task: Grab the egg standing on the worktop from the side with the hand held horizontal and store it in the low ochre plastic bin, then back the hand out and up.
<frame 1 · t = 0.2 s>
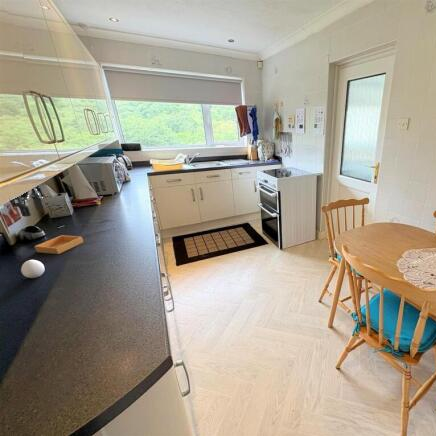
hand: (34, 212, 89), 25 cm above the countertop, tool pointing down, fingers open, 8 cm apart
egg: (37, 277, 93), on the countertop
bin: (61, 247, 115), on the countertop
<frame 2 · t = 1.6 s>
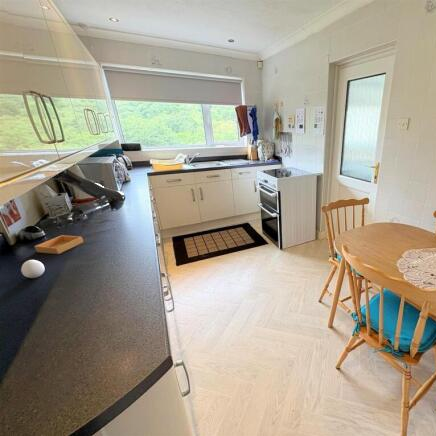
hand: (49, 224, 96), 18 cm above the countertop, tool horizontal, fingers open, 8 cm apart
nothing on the countertop moved.
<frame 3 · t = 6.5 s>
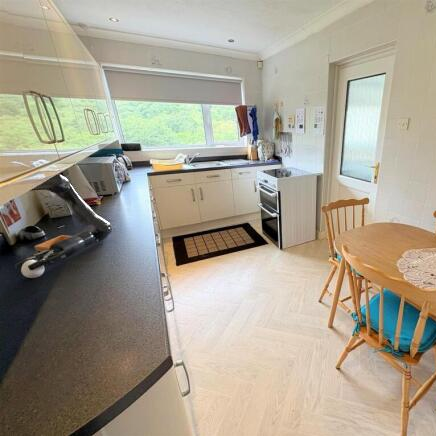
hand: (22, 267, 88), 6 cm above the countertop, tool horizontal, fingers closed on egg, 5 cm apart
egg: (37, 277, 93), on the countertop, touching gripper
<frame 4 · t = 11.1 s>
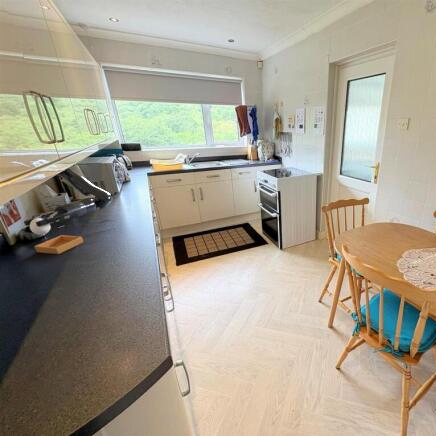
hand: (31, 224, 98), 18 cm above the countertop, tool horizontal, fingers closed on egg, 5 cm apart
egg: (43, 234, 103), point 11 cm above the countertop, touching gripper
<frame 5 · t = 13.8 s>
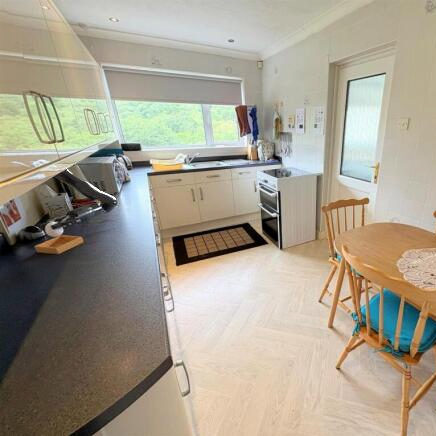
hand: (46, 227, 108), 12 cm above the countertop, tool horizontal, fingers closed on egg, 5 cm apart
egg: (57, 236, 113), point 6 cm above the countertop, touching gripper
when the fingers open (7 cm above the countertop, at t = 15.9 s): egg stays where it is, resting on bin.
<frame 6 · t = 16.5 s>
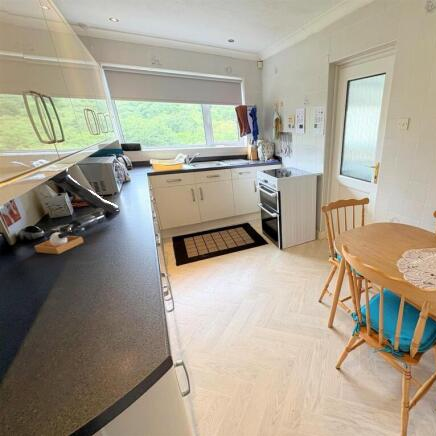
hand: (51, 236, 110), 7 cm above the countertop, tool horizontal, fingers open, 8 cm apart
egg: (61, 246, 115), resting on bin
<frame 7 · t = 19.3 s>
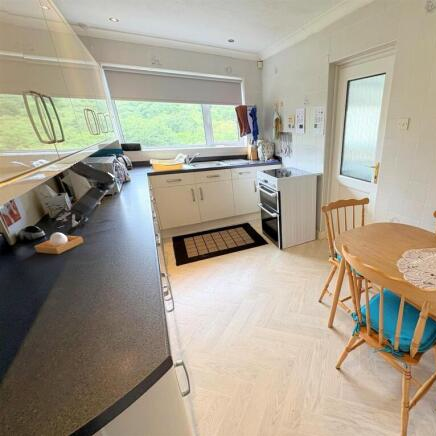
hand: (60, 230, 113), 9 cm above the countertop, tool tilted 55°, fingers open, 8 cm apart
nothing on the countertop moved.
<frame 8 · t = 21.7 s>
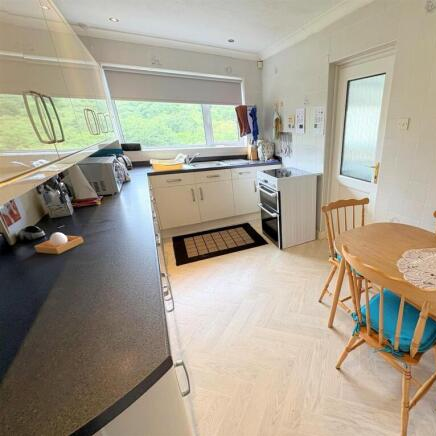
hand: (56, 203, 110), 22 cm above the countertop, tool pointing down, fingers open, 8 cm apart
nothing on the countertop moved.
at the end: egg inside the target area in the bin (0.1 cm from its centre), point 0.3 cm above the bin's base; egg tilted 0°; the gripper is holding nothing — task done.
